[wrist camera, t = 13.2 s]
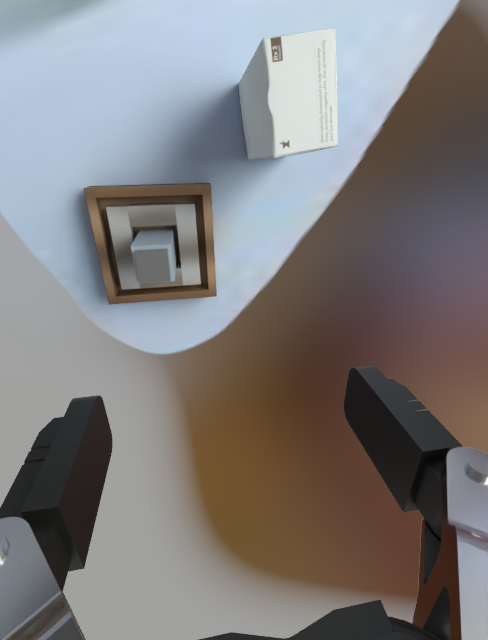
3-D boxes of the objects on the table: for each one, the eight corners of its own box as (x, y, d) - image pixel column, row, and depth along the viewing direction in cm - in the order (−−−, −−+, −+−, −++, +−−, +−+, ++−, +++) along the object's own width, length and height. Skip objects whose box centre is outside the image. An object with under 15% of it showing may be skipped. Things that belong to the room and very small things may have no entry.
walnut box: (90, 186, 39) (83, 188, 36) (208, 183, 41) (210, 185, 38) (113, 295, 45) (108, 305, 42) (214, 288, 47) (216, 297, 44)
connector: (140, 228, 41) (129, 248, 33) (173, 227, 42) (170, 246, 33) (145, 259, 43) (135, 286, 34) (176, 258, 44) (174, 284, 35)
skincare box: (291, 152, 41) (342, 152, 28) (244, 160, 41) (273, 163, 28) (286, 70, 37) (342, 24, 24) (234, 77, 37) (262, 35, 24)
